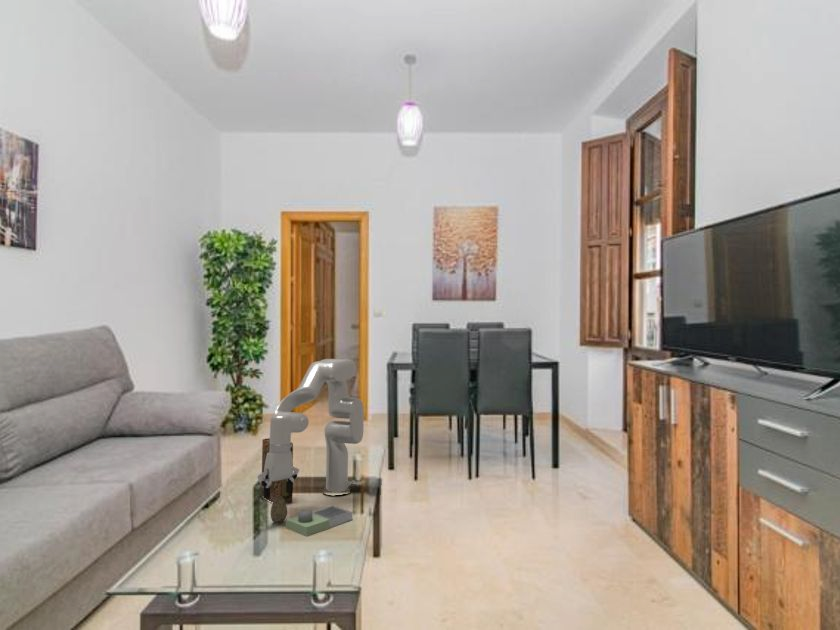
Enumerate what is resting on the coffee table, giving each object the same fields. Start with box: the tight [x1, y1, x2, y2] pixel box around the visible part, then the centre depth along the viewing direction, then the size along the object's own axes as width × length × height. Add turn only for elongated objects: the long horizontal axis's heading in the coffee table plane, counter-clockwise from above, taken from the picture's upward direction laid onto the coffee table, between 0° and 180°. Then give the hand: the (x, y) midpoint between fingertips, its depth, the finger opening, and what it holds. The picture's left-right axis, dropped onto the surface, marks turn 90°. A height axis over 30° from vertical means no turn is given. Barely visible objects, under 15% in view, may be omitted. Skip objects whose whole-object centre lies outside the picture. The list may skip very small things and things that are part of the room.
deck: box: [285, 509, 330, 537], centre depth 185 cm, size 10×12×6 cm
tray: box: [312, 505, 353, 529], centre depth 193 cm, size 11×11×3 cm
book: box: [260, 437, 294, 504], centre depth 217 cm, size 16×6×25 cm, turn 47°
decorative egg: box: [270, 496, 288, 525], centre depth 189 cm, size 6×6×10 cm
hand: (278, 495), depth 189 cm, fingers open, 9 cm apart
